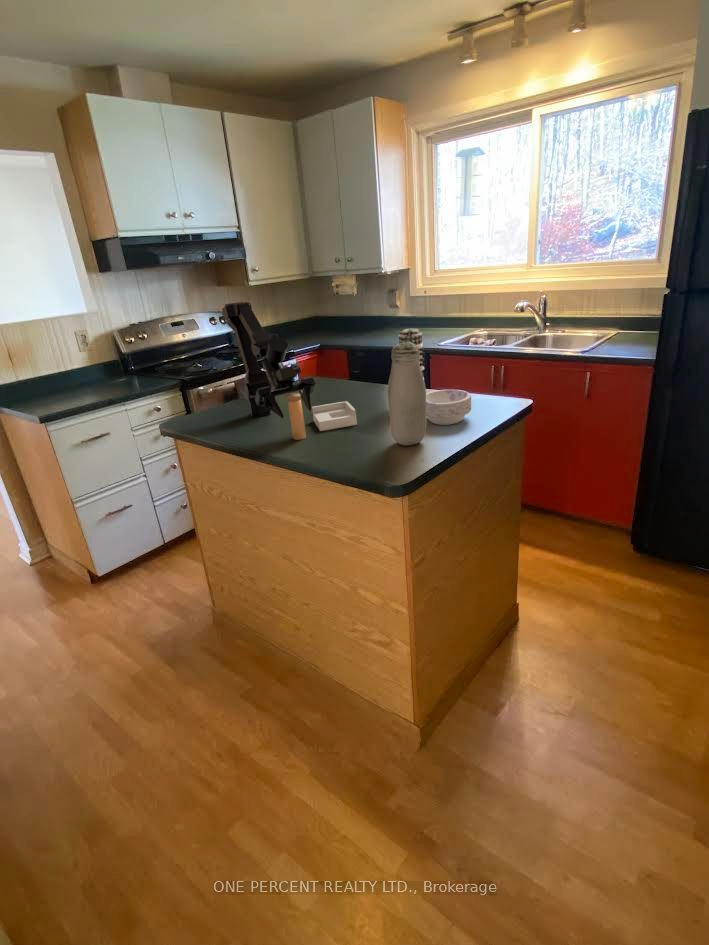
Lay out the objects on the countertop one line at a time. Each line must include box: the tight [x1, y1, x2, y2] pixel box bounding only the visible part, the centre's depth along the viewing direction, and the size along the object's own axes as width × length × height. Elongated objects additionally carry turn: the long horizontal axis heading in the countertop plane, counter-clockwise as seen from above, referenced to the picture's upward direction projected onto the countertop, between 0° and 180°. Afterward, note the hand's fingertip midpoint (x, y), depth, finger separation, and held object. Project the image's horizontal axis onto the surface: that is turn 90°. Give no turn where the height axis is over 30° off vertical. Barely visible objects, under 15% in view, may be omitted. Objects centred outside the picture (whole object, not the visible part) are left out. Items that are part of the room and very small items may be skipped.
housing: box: [311, 400, 358, 432], centre depth 167 cm, size 12×11×5 cm
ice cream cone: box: [286, 392, 307, 441], centre depth 155 cm, size 4×4×14 cm
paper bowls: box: [426, 389, 472, 426], centre depth 158 cm, size 15×15×8 cm
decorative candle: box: [398, 327, 426, 384], centre depth 175 cm, size 9×9×25 cm
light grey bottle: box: [387, 342, 427, 446], centre depth 139 cm, size 10×10×28 cm
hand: (296, 413), depth 155 cm, fingers open, 9 cm apart
